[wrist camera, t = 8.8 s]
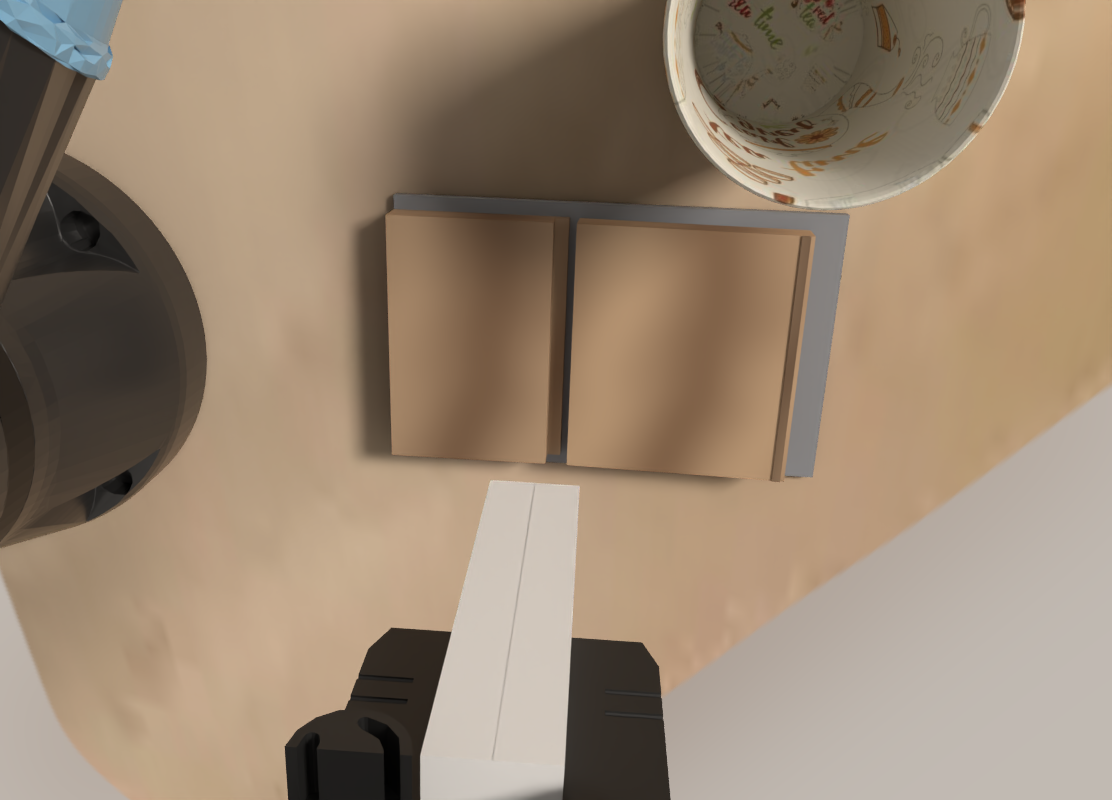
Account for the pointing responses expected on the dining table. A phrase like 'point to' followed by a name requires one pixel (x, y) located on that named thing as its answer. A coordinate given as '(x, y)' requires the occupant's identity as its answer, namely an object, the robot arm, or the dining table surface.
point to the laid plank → (476, 334)
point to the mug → (837, 90)
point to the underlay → (822, 225)
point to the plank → (686, 346)
